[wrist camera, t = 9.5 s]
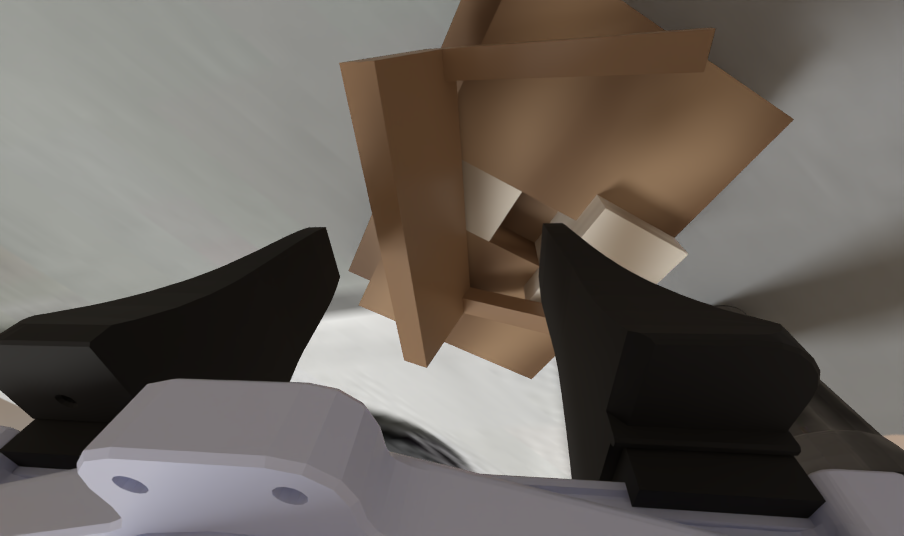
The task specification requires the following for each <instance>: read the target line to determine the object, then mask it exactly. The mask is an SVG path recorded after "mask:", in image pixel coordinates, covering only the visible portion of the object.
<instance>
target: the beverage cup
mask: <svg viewBox="0 0 904 536" xmlns="http://www.w3.org/2000/svg"><path fill="white" fill-rule="evenodd" d="M715 307H718V308H721V309H724V310H728V311H731V312H735V313H739V314H743V315H746V314H745V313H744V312H742V311H741V310H739V309H738V308H734V307H730V306H715ZM789 432H790V433H791V434H792V436H793V437H794V438H795V440H796V441H797V442H798V444H799V445H800V447H801V453H800V454H799V455H798V456H794V457H795V458H796V459H797V461H798V462H799V464H800V465H801V467H802V468H803V469H804V471H805V472H806V474H807V475H809V474H810V473H812V472H816V471H819V470H825V469H845V470H864V471H884V472H895V473H899V474H902V475H903V476H904V450H903V449H901V448H900V447H899V446H897V445H896V444H894V443H893V442H891V441H889V440H888V439H886V438H885V437H883V436H882V435H881V434H880V433H878V432H877V431H876V430H875V429H874V428H873V427H872V426H871V425H870V424H868V423H867V422H866V421H865V420H864V419H863V418H862V417H861V416H860V415H859V414H857V413H856V412H855V411H854V410H853V409H852V408H851V407H850V406H849V405H848V404H846V403H845V402H844V401H843V400H842V399H841V398H840V397H839V396H838V395H836V394H835V393H834V392H833V391H832V390H831V389H830V388H829V387H828V386H827V385H825V384H824V383H823V382H822V381H821V380H820V384H819V386H818V388H817V390H816V392H815V394H814V396H813V398H812V399H811V401H810V402H809V403H808V405H807V406H806V407H805V409H804V410H803V411H802V413H801V414H800V415H799V417H798V418H797V419H796V421H795V422H794V423H793V425H792V426H791V427H790V429H789Z"/></svg>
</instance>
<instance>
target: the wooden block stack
mask: <svg viewBox="0 0 904 536" xmlns="http://www.w3.org/2000/svg"><path fill="white" fill-rule="evenodd" d="M658 31H665V30H664V29H662V28H661V27H659V26H658V25H656V24H655V23H654V22H652V21H651V20H649V19H648V18H646V17H645V16H643V15H642V14H641V13H639V12H638V11H636V10H635V9H633V8H632V7H630V6H629V5H627V4H626V3H625V2H623V1H622V0H461V1H460V4H459V6H458V9H457V11H456V13H455V16H454V18H453V21H452V23H451V25H450V28H449V30H448V33H447V35H446V37H445V40H444V42H443V45H442V47H441V48H448V47H461V46H474V45H488V44H501V43H514V42H527V41H540V40H553V39H566V38H580V37H593V36H606V35H619V34H632V33H645V32H658ZM457 96H458V111H459V127H460V142H461V157H462V172H463V188H464V203H465V218H466V234H467V249H468V264H469V280H470V287H471V288H476V289H480V290H485V291H490V292H494V293H499V294H503V295H508V296H513V297H517V298H522V299H526V300H531V301H536V302H540V303H541V296H540V287H539V277H538V276H539V263H540V251H541V238H542V226H543V223H563V224H565V225H566V226H567V227H569V228H570V229H571V230H572V231H574V232H575V233H576V234H577V235H579V236H580V237H581V238H582V239H583V240H585V241H586V242H587V243H589V244H590V245H591V246H593V247H594V248H595V249H597V250H598V251H599V252H601V253H602V254H604V255H605V256H606V257H608V258H610V259H611V260H613V261H614V262H616V263H617V264H619V265H620V266H622V267H624V268H625V269H627V270H629V271H631V272H633V273H635V274H636V275H638V276H640V277H642V278H644V279H646V280H648V281H650V282H652V283H654V284H657V283H658V282H659V281H660V280H661V279H663V278H664V277H665V276H666V275H667V274H668V273H669V272H670V271H671V270H672V269H673V268H674V267H675V266H676V265H678V264H679V263H680V262H681V261H682V260H683V259H684V258H685V257H686V256H687V255H688V253H687V252H686V251H685V250H684V249H683V247H682V246H681V245H680V244H679V243H678V242H677V241H676V239H675V237H676V236H677V235H678V234H679V233H680V232H681V231H682V230H683V229H684V228H685V227H686V226H687V225H688V224H689V223H690V222H691V221H692V220H693V219H694V218H695V217H696V216H697V215H698V214H699V213H700V212H701V211H702V210H703V209H704V208H705V207H706V206H707V205H708V204H709V203H710V202H711V201H712V200H713V199H714V198H715V197H716V196H717V195H718V194H719V193H720V192H721V191H722V190H723V189H724V188H725V187H726V186H727V185H728V184H729V183H730V182H731V181H732V180H733V179H734V178H735V177H736V176H737V175H738V174H739V173H740V172H741V171H742V170H743V169H744V168H745V167H746V166H747V165H748V164H749V163H750V162H751V161H752V160H753V159H754V158H755V157H756V156H757V155H758V154H759V153H760V152H761V151H762V150H763V149H764V148H765V147H766V146H767V145H768V144H769V143H770V142H771V141H772V140H774V139H775V138H776V137H777V136H778V135H779V134H780V133H781V132H782V131H783V130H784V129H785V128H786V127H787V126H788V125H789V124H790V123H791V122H792V121H793V120H794V119H793V118H791V117H790V116H788V115H787V114H785V113H784V112H782V111H781V110H780V109H778V108H777V107H775V106H774V105H772V104H771V103H769V102H768V101H767V100H765V99H764V98H762V97H761V96H759V95H758V94H756V93H755V92H753V91H752V90H751V89H749V88H748V87H746V86H745V85H743V84H742V83H740V82H739V81H738V80H736V79H735V78H733V77H732V76H730V75H729V74H727V73H726V72H725V71H723V70H722V69H720V68H719V67H717V66H716V65H714V64H713V63H711V62H710V61H709V60H707V63H706V67H705V70H704V72H698V73H669V74H639V75H610V76H581V77H552V78H522V79H493V80H464V81H457ZM349 271H350V272H352V273H354V274H357V275H359V276H361V277H363V278H366V279H368V280H370V282H369V284H368V286H367V289H366V291H365V293H364V295H363V297H362V299H361V301H360V303H359V306H362V307H364V308H366V309H369V310H371V311H373V312H376V313H378V314H380V315H383V316H385V317H387V318H390V319H392V320H394V321H396V320H395V316H394V311H393V306H392V302H391V297H390V293H389V288H388V284H387V279H386V274H385V270H384V265H383V261H382V256H381V251H380V247H379V242H378V238H377V233H376V229H375V224H374V219H373V215H372V216H371V218H370V221H369V223H368V225H367V228H366V230H365V233H364V235H363V237H362V240H361V242H360V245H359V247H358V249H357V252H356V254H355V257H354V259H353V261H352V264H351V266H350V269H349ZM444 342H446V343H448V344H451V345H453V346H455V347H458V348H460V349H462V350H465V351H467V352H469V353H472V354H474V355H476V356H479V357H481V358H483V359H486V360H488V361H490V362H493V363H495V364H497V365H500V366H502V367H504V368H507V369H509V370H511V371H514V372H516V373H518V374H521V375H523V376H525V377H528V378H530V379H532V378H533V377H534V376H535V375H536V374H537V373H538V372H539V371H540V370H541V369H542V368H543V367H544V366H545V365H546V364H547V363H548V362H549V361H550V360H551V359H552V358H553V357H554V356H555V353H554V349H553V345H552V341H551V338H550V335H549V334H545V333H541V332H537V331H533V330H529V329H525V328H521V327H517V326H513V325H509V324H505V323H501V322H497V321H493V320H489V319H485V318H481V317H477V316H473V315H469V314H465V313H463V315H462V316H461V318H460V319H459V321H458V322H457V324H456V325H455V326H454V328H453V329H452V331H451V332H450V334H449V335H448V337H447V338H446V340H445V341H444Z"/></svg>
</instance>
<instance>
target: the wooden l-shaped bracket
mask: <svg viewBox="0 0 904 536" xmlns="http://www.w3.org/2000/svg"><path fill="white" fill-rule="evenodd" d="M714 33H715V28H712V27H711V28H698V29H685V30H672V31H658V32H645V33H632V34H619V35H606V36H593V37H580V38H566V39H553V40H540V41H527V42H514V43H501V44H488V45H474V46H461V47H448V48H435V49H424V50H418V51H411V52H405V53H399V54H393V55H386V56H380V57H374V58H367V59H361V60H355V61H349V62H342V63H339V64H340V68H341V73H342V77H343V82H344V87H345V91H346V96H347V100H348V105H349V109H350V114H351V119H352V123H353V128H354V132H355V137H356V142H357V146H358V151H359V155H360V160H361V164H362V169H363V174H364V178H365V183H366V187H367V192H368V197H369V201H370V206H371V210H372V215H373V219H374V224H375V229H376V233H377V238H378V242H379V247H380V251H381V256H382V261H383V265H384V270H385V274H386V279H387V284H388V288H389V293H390V297H391V302H392V306H393V311H394V316H395V320H396V325H397V329H398V334H399V338H400V343H401V348H402V352H403V357H404V360H405V361H408V362H411V363H414V364H417V365H420V366H423V367H426V368H427V367H428V365H429V364H430V362H431V361H432V359H433V358H434V356H435V355H436V353H437V352H438V350H439V349H440V347H441V346H442V344H443V343H444V341H445V340H446V338H447V337H448V335H449V334H450V332H451V331H452V329H453V328H454V326H455V325H456V324H457V322H458V321H459V319H460V318H461V316H462V315H463V313H465V314H469V315H473V316H477V317H481V318H485V319H489V320H493V321H497V322H501V323H505V324H509V325H513V326H517V327H521V328H525V329H529V330H533V331H537V332H541V333H545V334H549V330H548V326H547V322H546V318H545V315H544V311H543V307H542V303H540V302H536V301H531V300H526V299H522V298H517V297H513V296H508V295H503V294H499V293H494V292H490V291H485V290H480V289H476V288H471V287H470V280H469V264H468V249H467V234H466V218H465V203H464V188H463V172H462V157H461V142H460V127H459V111H458V96H457V81H464V80H493V79H522V78H552V77H581V76H610V75H639V74H669V73H698V72H704V70H705V67H706V63H707V59H708V55H709V52H710V48H711V44H712V40H713V37H714ZM549 335H550V334H549Z"/></svg>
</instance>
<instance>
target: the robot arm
mask: <svg viewBox="0 0 904 536" xmlns="http://www.w3.org/2000/svg"><path fill="white" fill-rule="evenodd" d="M538 277H539V287H540V296H541V303H542V307H543V311H544V315H545V318H546V322H547V326H548V330H549V334H550V338H551V341H552V345H553V349H554V353H555V357H556V361H557V366H558V372H559V379H560V386H561V393H562V400H563V408H564V416H565V423H566V431H567V440H568V449H569V457H570V466H571V476H572V479H558V478H541V477H524V476H507V475H490V474H479V473H475V472H471V471H467V470H463V469H459V468H455V467H451V466H447V465H443V464H439V463H434V462H430V461H426V460H422V459H418V458H414V457H410V456H406V455H402V454H398V453H394V452H389V451H388V449H387V448H386V445H385V442H384V438H383V435H382V431H381V428H380V426H379V424H378V423H377V421H376V420H375V419H374V417H373V416H372V414H371V413H370V412H369V410H368V409H367V408H366V406H365V405H364V404H363V403H362V402H360V401H359V400H357V399H355V398H353V397H352V396H350V395H348V394H346V393H345V392H343V391H341V390H339V389H337V388H332V387H327V386H322V385H317V384H312V383H300V382H290V380H291V378H292V375H293V373H294V370H295V368H296V366H297V363H298V361H299V359H300V357H301V355H302V353H303V351H304V349H305V348H306V346H307V344H308V342H309V340H310V339H311V337H312V335H313V333H314V332H315V330H316V328H317V326H318V325H319V323H320V321H321V319H322V317H323V316H324V314H325V312H326V310H327V308H328V306H329V305H330V303H331V301H332V298H333V296H334V293H335V290H336V288H337V285H338V282H339V279H340V275H339V272H338V268H337V265H336V261H335V258H334V254H333V251H332V247H331V244H330V240H329V237H328V233H327V230H326V227H309V228H306V229H303V230H300V231H297V232H295V233H293V234H291V235H288V236H286V237H284V238H282V239H280V240H278V241H276V242H274V243H272V244H270V245H268V246H266V247H264V248H262V249H260V250H258V251H256V252H253V253H251V254H249V255H247V256H245V257H243V258H240V259H238V260H236V261H234V262H232V263H229V264H227V265H225V266H223V267H220V268H218V269H215V270H213V271H210V272H208V273H205V274H202V275H199V276H197V277H194V278H191V279H188V280H185V281H182V282H179V283H176V284H172V285H169V286H166V287H163V288H159V289H156V290H153V291H150V292H146V293H142V294H138V295H134V296H130V297H126V298H122V299H118V300H114V301H109V302H105V303H100V304H95V305H91V306H85V307H80V308H74V309H69V310H63V311H58V312H52V313H47V314H41V315H35V316H31V317H28V318H26V319H23V320H21V321H19V322H18V323H16V324H15V325H13V326H12V327H10V328H8V329H7V330H5V331H4V332H2V333H0V390H1V391H2V392H3V393H4V394H5V395H6V396H8V397H9V398H10V399H11V400H12V401H13V402H14V403H16V404H17V405H18V406H19V407H20V408H21V409H23V410H24V411H25V412H26V413H27V414H28V415H30V416H31V417H32V418H33V419H35V420H34V421H32V422H31V423H30V424H29V425H28V426H27V427H25V428H24V429H23V430H22V431H21V432H20V431H19V430H16V429H14V428H11V427H6V426H0V536H904V476H903V475H902V474H899V473H895V472H884V471H864V470H845V469H825V470H819V471H816V472H812V473H810V474H809V475H807V474H806V472H805V471H804V469H803V468H802V467H801V465H800V464H799V462H798V461H797V459H796V458H795V457H794V456H798V455H799V454H800V453H801V447H800V445H799V444H798V442H797V441H796V440H795V438H794V437H793V436H792V434H791V433H790V432H789V429H790V427H791V426H792V425H793V423H794V422H795V421H796V419H797V418H798V417H799V415H800V414H801V413H802V411H803V410H804V409H805V407H806V406H807V405H808V403H809V402H810V401H811V399H812V398H813V396H814V394H815V392H816V390H817V388H818V386H819V384H820V369H819V367H818V365H817V363H816V362H815V360H814V358H813V357H812V356H811V355H810V354H809V353H808V352H807V351H806V350H805V349H804V348H803V347H802V346H801V345H800V344H799V343H798V342H797V341H796V340H795V339H794V338H793V337H792V336H791V334H790V333H789V332H788V331H787V330H786V329H785V328H784V327H783V326H782V325H781V324H778V323H774V322H770V321H766V320H763V319H759V318H755V317H751V316H747V315H743V314H739V313H735V312H731V311H728V310H724V309H721V308H718V307H715V306H712V305H709V304H706V303H703V302H700V301H697V300H694V299H691V298H688V297H686V296H683V295H680V294H678V293H675V292H673V291H671V290H668V289H666V288H664V287H661V286H659V285H657V284H654V283H652V282H650V281H648V280H646V279H644V278H642V277H640V276H638V275H636V274H635V273H633V272H631V271H629V270H627V269H625V268H624V267H622V266H620V265H619V264H617V263H616V262H614V261H613V260H611V259H610V258H608V257H606V256H605V255H604V254H602V253H601V252H599V251H598V250H597V249H595V248H594V247H593V246H591V245H590V244H589V243H587V242H586V241H585V240H583V239H582V238H581V237H580V236H579V235H577V234H576V233H575V232H574V231H572V230H571V229H570V228H569V227H567V226H566V225H565V224H563V223H543V226H542V238H541V251H540V263H539V276H538Z"/></svg>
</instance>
